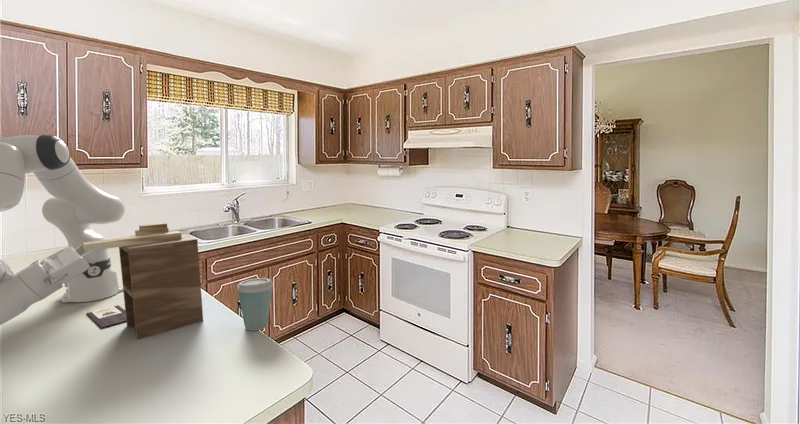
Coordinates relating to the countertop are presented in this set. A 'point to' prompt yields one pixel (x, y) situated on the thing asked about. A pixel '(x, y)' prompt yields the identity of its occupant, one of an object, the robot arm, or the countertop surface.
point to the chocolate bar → (108, 316)
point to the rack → (161, 283)
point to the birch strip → (132, 240)
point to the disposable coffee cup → (255, 302)
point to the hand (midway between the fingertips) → (98, 245)
